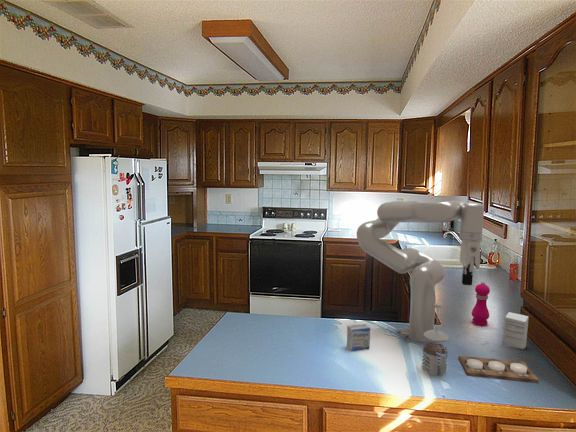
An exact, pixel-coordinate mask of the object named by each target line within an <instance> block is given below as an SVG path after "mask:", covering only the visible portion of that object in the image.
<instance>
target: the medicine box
mask: <svg viewBox="0 0 576 432" xmlns="http://www.w3.org/2000/svg"><path fill="white" fill-rule="evenodd" d="M346 330H347V331H346V347H347V348H348V349H349V350H350V351H351V352H358V351H365V350H370V346H371V328H370V327H369V326H368V325H367V324H364V323H363V324H355V325H354V324H353V325H347V327H346ZM364 349H365V350H364ZM357 350H358V351H357Z"/></svg>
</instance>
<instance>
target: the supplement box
mask: <svg viewBox="0 0 576 432" xmlns="http://www.w3.org/2000/svg"><path fill="white" fill-rule="evenodd" d="M528 327H529V316H528V315H524V314H519V313H515V312H510V311H508V312H507V314H506V316H505V317H504V326H503V335H502V337H503V338H502V347H504V348H505V347H506V348H517V349H520V350H521V349H522V350H524V349H526V346H527V339H528V338H527V337H528Z"/></svg>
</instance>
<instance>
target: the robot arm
mask: <svg viewBox="0 0 576 432" xmlns="http://www.w3.org/2000/svg"><path fill="white" fill-rule="evenodd" d="M376 213H377V219H375V220H369V221H365V222H363V223H361V224H360V225H359V226H358V228H357V230H356V240H357V242H358V244H359V247H360V248H361V250H363V252H364V253H366V254H368V255H370V256H371V257H373V258H375V259H376V260H377V261H379V262H381V263H382V264H384V265H385V266H387V267H388V268H390V269H392V270H393V271H395V273H398V274H401V275H402V274H407V273H410V272H411V273H410V276H409V285H410V304H409V305H410V306H409V307H410V308H409V321H408V322H409V325H407V327H405V328H401V327H397V328H396V333H398V334H400V336H404V340H405V341H406V342H407V343H409V344H410V343H411V342H410V340H412V341H415V342H420V343H429V342H432V341H431V340H429V339H427V338H426V337H425V336H424V332H426V331H429V330H435V314H436V307H435V305H436V302H437V301H436V288H435V286H436V285H437V284H439V283H440V282H441V281H443V279H444V278H445V275H446V273H445V272H446V271H445V268H444V267H443V265H442V264H441V263H440V262H438V261H437V260H435V259H434V258H432V257H431V256H428V255H426V254H425V253H423V252H422V251H420V250H418V249H416V248H412V247H407V248H402V249H401V248H397V247H396V246H394V245H393V244H391V243H389V242H387V241H385V240H383V238H385V237H386V236H388V235H389V234H390V233H391V232H392V231H393V230H394V229H395V228H396V227H397V226H398V225H399V224H400V223H418V224H419V223H426V224H427V223H449V222H452V221H456V220H460V222H459V236H458V237H459V238H458V239H459V241H461V243H460V251H459V262H460V263H461V264H462V277H461V284H462V285H463V286H473V278H474V273H475V269H476V270H477V269H480V267H481V266H480V265H481V264H480V263H481V244H480V243H481V242H482V239H483V227H484V216H485V215H484V214H485V205H484V203H480V202H476V201H475V202H471V201H470V202H464V201H461V200H453V199H452V200H445V201H437V202H420V201H416V200H411V201H410V200H409V201H406V200H405V201H397V200H396V201H389V202H387V201H386V202H384V203H383V202H382V204H380V205H378V208H377V211H376ZM474 267H475V269H474Z"/></svg>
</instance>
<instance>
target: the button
mask: <svg viewBox="0 0 576 432" xmlns="http://www.w3.org/2000/svg"><path fill="white" fill-rule="evenodd" d="M487 366H488V367H489V369H490V370H492V371H502V372H505V365H504V364H503V363H501V362H498V361H489V364H488V365H487Z"/></svg>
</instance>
